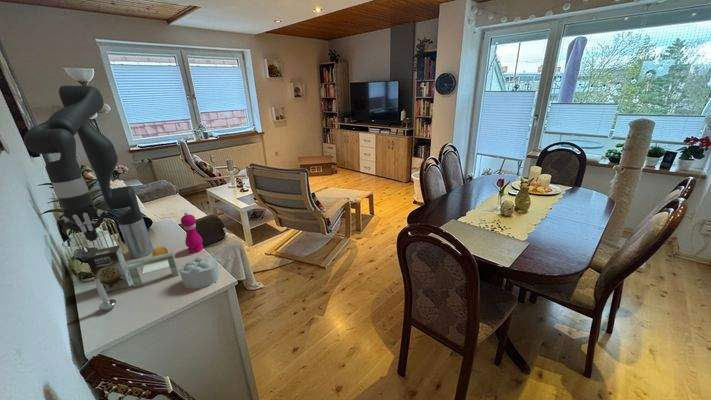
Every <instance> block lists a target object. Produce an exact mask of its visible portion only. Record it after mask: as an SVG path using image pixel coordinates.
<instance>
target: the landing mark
mask: <svg viewBox="0 0 711 400" xmlns="http://www.w3.org/2000/svg"><path fill="white" fill-rule="evenodd" d="M173 255H174V258H175V259H176V252H173ZM166 268H170V266H169V263H168V260H164V261H160V262H156V263H152V264H148V265H144V266H143V268H142V273H141V274H142V275H143V274H144V275H145V274H147V273H152V272H155V271H159V270H162V269H166Z"/></svg>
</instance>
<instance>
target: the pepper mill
mask: <svg viewBox="0 0 711 400" xmlns="http://www.w3.org/2000/svg"><path fill="white" fill-rule="evenodd" d="M196 220H197V219H196V217H195V216H194V215H193V214H189V212H188V211H185V212H184V215H183V216H182V217H181V218H180V224H181V225H182V226H183V229H184V230H185V234H186V237H185V246H186V247H188V248H187V249H188V252H189V253H190V254H196V253H199V252H201V251H203V249H204V245H203V237H202V236H201V234H199V232H198V231H197V229H196V226H197V225H196Z"/></svg>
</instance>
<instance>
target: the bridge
mask: <svg viewBox="0 0 711 400" xmlns="http://www.w3.org/2000/svg"><path fill="white" fill-rule="evenodd" d="M173 253H174V252H173V251H171V252H168V253H167V254H163V255H159V256H155V257H153V256H152V257H148V258H144V259H141V260H136V261H132V262H129V263H127V268H128V271H129V273H130V276H131V278H132V279H131V281H132V283H133V285H134V288H135V289H136V288H139V287H142V283H143V280H142V278H141V275H140V272H139V271H138V268H140V267H144V265H148V264H152V263H156V262H160V261H164V260H168V263H169V266H170V267H169V269H170V271H171V275H172V277H177V276H179V274H180V271H179V269H178V265H177V262H176V257H175V258H174V255H173Z"/></svg>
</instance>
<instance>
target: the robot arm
mask: <svg viewBox="0 0 711 400" xmlns="http://www.w3.org/2000/svg"><path fill="white" fill-rule="evenodd" d="M58 95H59V98H60V102H61V104H62V106H63V107H62V108H60V109H58V110H56V111H55V112H53V113H52V114H51V116H50V117H49V118H48V119H47V120H46V121H45V122H42V123H39V124H38V125H35V126H33V127H32V128H30V129H28V130H27V132H25V134H24V137H23V143H24V146H25V148H26V149H28V150H29V151H30V152H32V153H35V154H37V155H49V154H59V155H60V158H59V159H57V160H53V161H50V162H48V163H46V164H45V170H46V173H47V175H48V177H49V179H50V181H51V184H52V187H53V190H54V194H55V196H56V198H57V199H58V202H59V204H60V206H61V208H62V210H63V215H62V217H60V218H59V219H58V221H57V222H56V223H57V224H58V225H60V226H62V227H64V228H66V229H68V230H71V232H75V233H79V232H81V233H83V235H84V236H85V239H86V240H87V241H89V242H94V241H97V239H98V237H99V235H98V231H97V230H96V229H97V228H100V226H101V224H102V223H103V221H104V219H105V217H106V216H107V214H108V210H107V209H104V210H103V209H99V208H98V206H97V205H96V204H95V202H94V199H93V197H92V195H91V192H90V190H89V188H88V185H87V183H86V181H85V180H84V177H83V175H82V173H81V171H80V170H81V169H79V164H78V160H77V144H76V143H77V141H76V139H75V135H76V134H77V135H78V137H79V139H80V140H79V141H80V143H81V145H82V147H83V149H84V153H85V155H86V157H87V159H88V161H89V164H90V167H91V168H92V171H93V173H94V175H95V176H96V180H97V182H98V185H99V189H100V191H101V195H102V198H103V200H104V203H105V205H106V207H107V208H108V209H109V210H111V211H112V210H113V211H115V210H120V209H125V208H129V209H128V210H127V211H125V212H123V213H121V214H119V215H118V216H117V217H116V222H117V224H118V227H119V230H120V232H121V235H122V238H123V240H124V242H125V243H124V244H125V245H126V248H127V251H128V254H129V255H130V258H132V259H133V258H134V259H135V258H136V259H137V258H142V257H146V256H148V255H150V254H152V252H153V250H154V247H153V244H152V241H151V238H150V235H149V232H148V229H147V226H146V224H145V220H144V217H143V214H142V212H141V209H140V205H139V202H138V198H137V195H136V194H137V193H136V191H135V189H134V187H132V186H130V185H126V186H121V187H114V188H111V179H112V175H113V173H114V172H115V171H114V170H115V169H116V167H117V164H118V161H119V158H118V157H119V156H118V155H117V152H116V149H115V146H114V143H113V142H112V141H111V140H110V139H109V138H108V137H107V136H106V135H105V134H103V133H102V132H100V131H99V130H98V129H96V127H95V126H93V125H92V124H91V122H89V119H90V118H92V117H93V116H95V115H96V114H97V113H100V112H101V110H102V109H103V107H104V97H103V95H102V93H101V92H100V90H99V89H98V88H97V87H95V86H92V85H62V86H60V87H59V89H58ZM96 215H97V217H98V219H97V221H96V222H94V219H95V216H96Z"/></svg>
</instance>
